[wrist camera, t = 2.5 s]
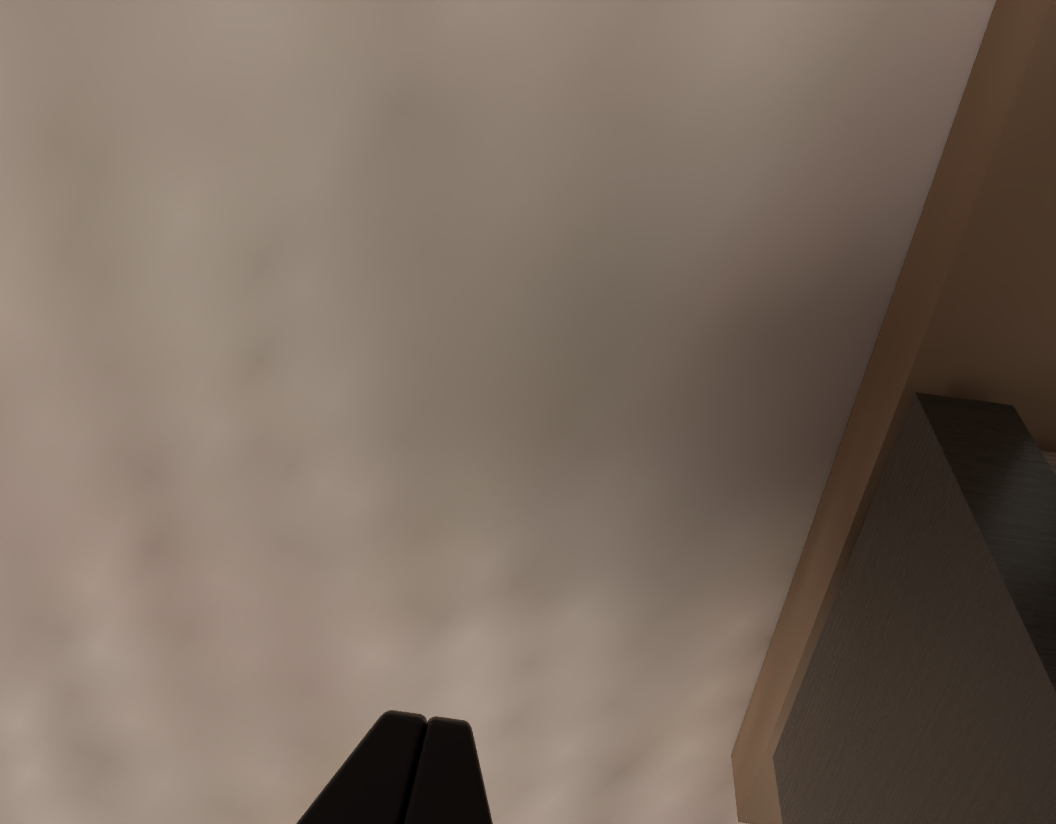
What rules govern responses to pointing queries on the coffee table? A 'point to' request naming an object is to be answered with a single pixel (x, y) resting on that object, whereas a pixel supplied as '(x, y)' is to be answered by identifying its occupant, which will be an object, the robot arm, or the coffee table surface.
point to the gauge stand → (938, 340)
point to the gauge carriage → (938, 638)
